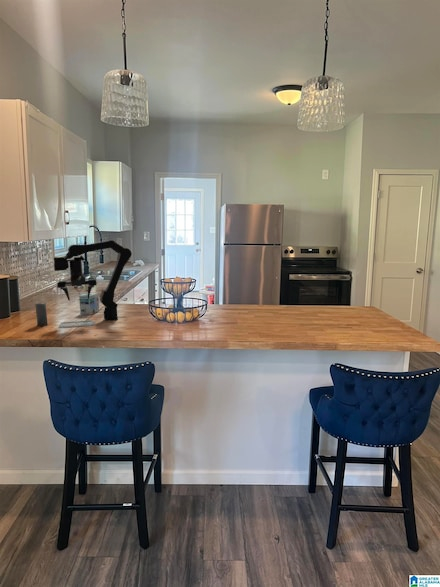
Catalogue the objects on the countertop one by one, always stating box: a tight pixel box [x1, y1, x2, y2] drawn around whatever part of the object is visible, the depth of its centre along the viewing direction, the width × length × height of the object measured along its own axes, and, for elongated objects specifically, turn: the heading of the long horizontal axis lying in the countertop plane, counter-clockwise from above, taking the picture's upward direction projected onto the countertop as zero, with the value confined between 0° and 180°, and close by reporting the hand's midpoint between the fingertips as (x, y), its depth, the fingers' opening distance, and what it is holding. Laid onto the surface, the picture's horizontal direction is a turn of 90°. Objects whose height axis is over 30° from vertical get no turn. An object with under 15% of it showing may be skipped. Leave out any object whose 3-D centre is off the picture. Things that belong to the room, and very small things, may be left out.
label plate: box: [58, 319, 95, 329], centre depth 210 cm, size 16×10×1 cm, turn 104°
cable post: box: [35, 302, 48, 327], centre depth 210 cm, size 5×5×11 cm
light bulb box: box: [78, 292, 100, 315], centre depth 238 cm, size 11×7×11 cm, turn 168°
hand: (78, 300), depth 213 cm, fingers open, 9 cm apart
